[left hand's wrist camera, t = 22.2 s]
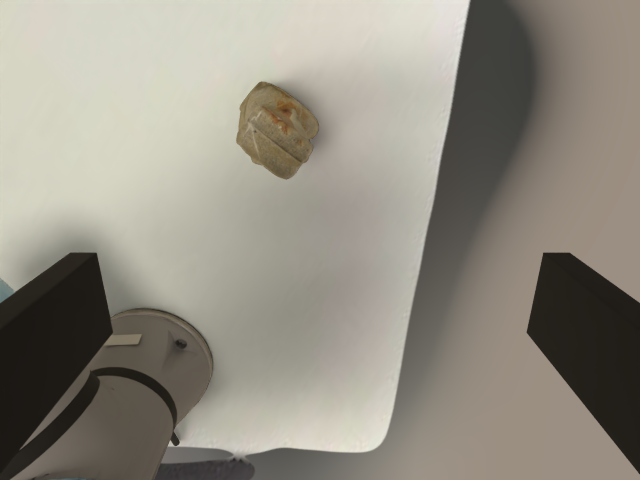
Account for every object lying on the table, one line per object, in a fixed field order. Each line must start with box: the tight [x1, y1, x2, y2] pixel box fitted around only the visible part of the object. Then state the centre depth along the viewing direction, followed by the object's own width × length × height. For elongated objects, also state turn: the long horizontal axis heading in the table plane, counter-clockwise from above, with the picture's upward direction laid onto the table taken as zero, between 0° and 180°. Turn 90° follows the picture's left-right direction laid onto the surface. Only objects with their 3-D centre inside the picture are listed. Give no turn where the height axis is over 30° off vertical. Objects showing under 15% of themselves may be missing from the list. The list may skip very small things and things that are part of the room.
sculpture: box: [236, 82, 319, 179], centre depth 36 cm, size 6×7×15 cm
